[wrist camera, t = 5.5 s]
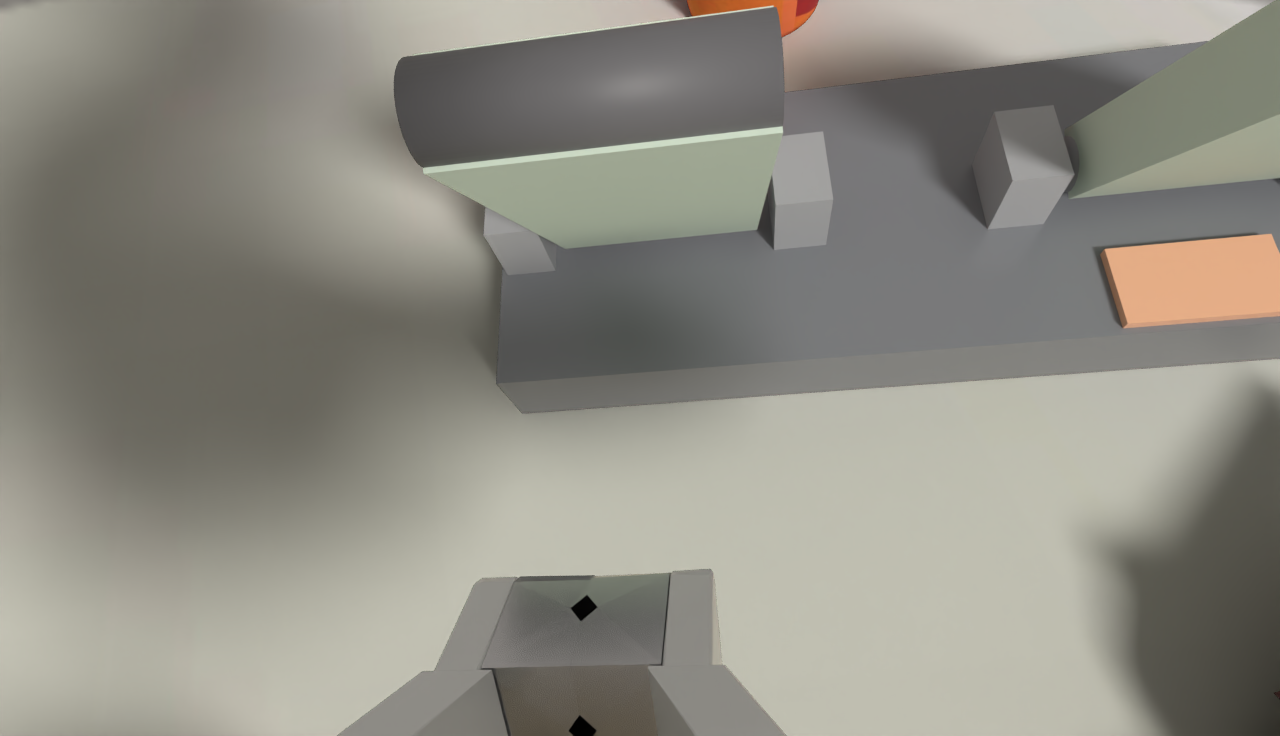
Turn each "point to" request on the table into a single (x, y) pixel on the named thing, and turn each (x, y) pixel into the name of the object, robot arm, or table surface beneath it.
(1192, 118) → the lever
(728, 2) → the paper cup
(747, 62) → the lever
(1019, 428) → the table surface
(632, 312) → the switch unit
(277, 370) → the table surface
